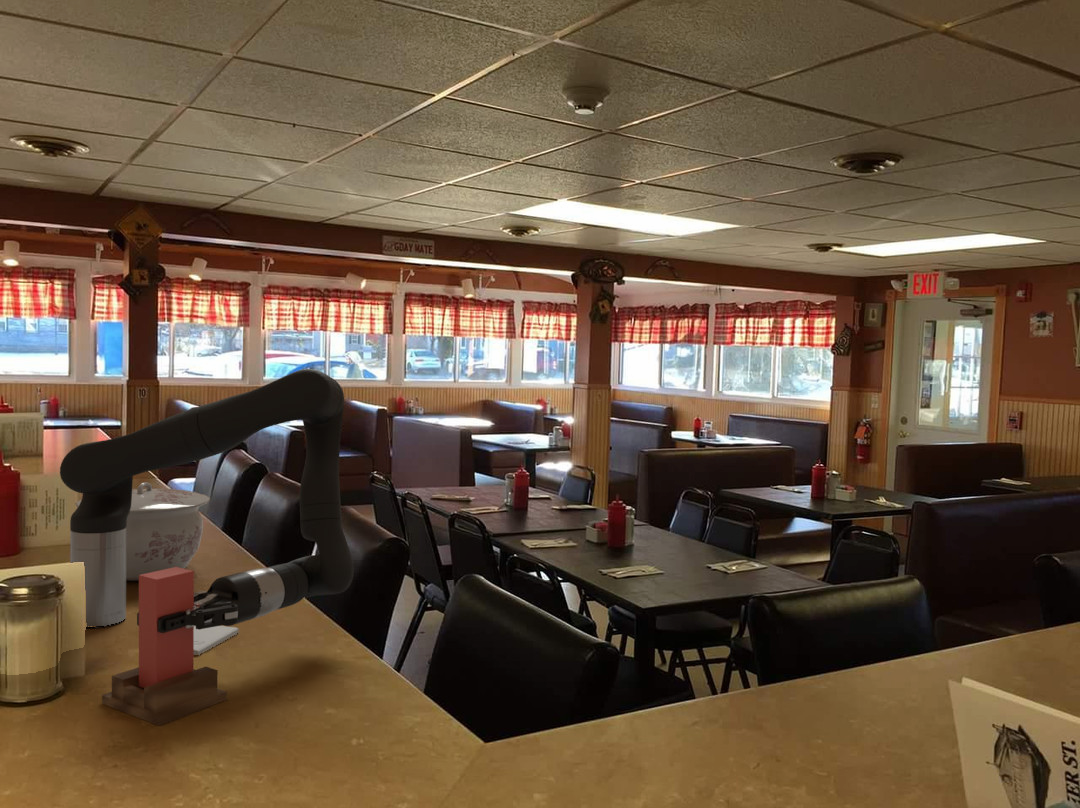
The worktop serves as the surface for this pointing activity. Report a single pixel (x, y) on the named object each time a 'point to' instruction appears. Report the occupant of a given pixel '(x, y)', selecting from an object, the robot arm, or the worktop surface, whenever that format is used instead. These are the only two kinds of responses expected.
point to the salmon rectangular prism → (172, 648)
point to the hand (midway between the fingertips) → (149, 622)
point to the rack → (164, 695)
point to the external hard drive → (211, 637)
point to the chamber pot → (161, 529)
